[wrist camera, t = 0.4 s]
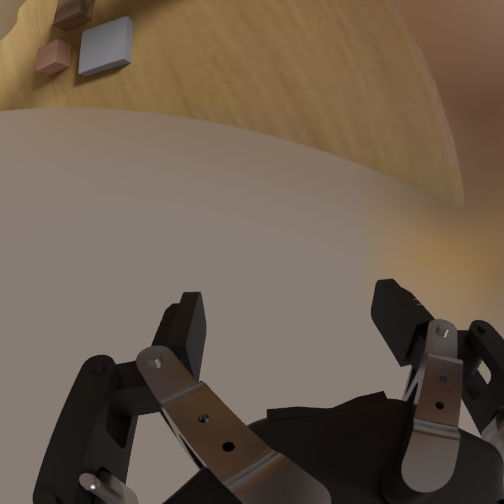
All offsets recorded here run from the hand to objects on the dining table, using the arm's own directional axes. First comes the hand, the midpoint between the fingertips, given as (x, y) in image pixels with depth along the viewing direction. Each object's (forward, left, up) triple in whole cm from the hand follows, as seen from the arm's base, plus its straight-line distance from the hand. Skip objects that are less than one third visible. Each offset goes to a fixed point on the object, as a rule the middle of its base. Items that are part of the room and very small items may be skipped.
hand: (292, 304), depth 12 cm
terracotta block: (-27, -32, -28) cm, 51 cm away
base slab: (-26, -22, -29) cm, 44 cm away
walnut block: (-36, -29, -28) cm, 54 cm away
